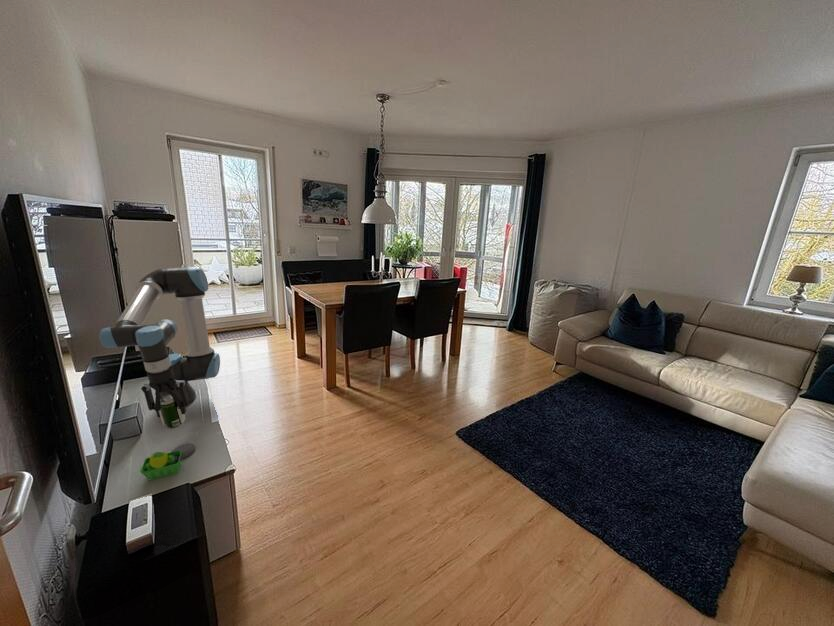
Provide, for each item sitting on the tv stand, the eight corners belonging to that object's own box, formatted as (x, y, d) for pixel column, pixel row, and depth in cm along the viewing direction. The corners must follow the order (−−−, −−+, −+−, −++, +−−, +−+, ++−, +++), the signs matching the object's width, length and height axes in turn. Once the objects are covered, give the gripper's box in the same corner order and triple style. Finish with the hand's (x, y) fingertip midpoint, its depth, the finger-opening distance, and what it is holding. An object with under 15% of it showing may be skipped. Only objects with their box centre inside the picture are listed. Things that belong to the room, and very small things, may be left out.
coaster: (175, 447, 140) (175, 445, 140) (197, 443, 142) (197, 441, 142) (167, 461, 133) (167, 459, 133) (191, 457, 135) (190, 455, 134)
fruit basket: (184, 460, 134) (177, 436, 130) (180, 476, 126) (173, 452, 122) (149, 468, 130) (141, 444, 126) (142, 486, 122) (133, 461, 118)
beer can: (186, 423, 134) (179, 396, 129) (170, 431, 129) (162, 404, 125) (179, 418, 136) (172, 392, 132) (164, 425, 132) (156, 399, 128)
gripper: (123, 377, 119) (142, 432, 127) (184, 370, 123) (198, 424, 131) (134, 366, 125) (151, 419, 134) (191, 360, 130) (204, 412, 138)
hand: (174, 421), depth 132 cm, fingers closed on beer can, 5 cm apart
